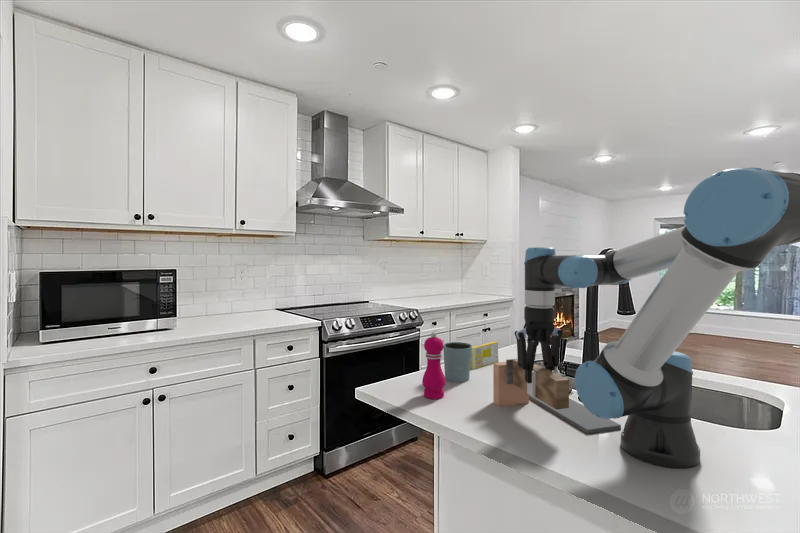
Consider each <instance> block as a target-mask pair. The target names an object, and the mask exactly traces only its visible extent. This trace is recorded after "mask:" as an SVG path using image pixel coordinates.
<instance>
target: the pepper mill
mask: <svg viewBox="0 0 800 533" xmlns="http://www.w3.org/2000/svg"><path fill="white" fill-rule="evenodd" d="M443 345H444V341H443V340H442V339H441V338H440V337H437V333H436V332H435V331H433V332H431V333H430V337H428V338H426V339H425V341H424V344H423V348H424V350H425V351H426V352H425V358H426V369H425V370H424V373H423V376H422V383H421V384H422V387H423V388H424V389H423V396H424V398H426V399H430V400H439V399H443V398H444V396H445V389H444V387H445V386H446V383H447V382H446V379H445V373H444V372H443V369H442V366H441V358H443V357H442V355H443V353H442V352H443V351H444V350H443Z"/></svg>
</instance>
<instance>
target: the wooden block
mask: <svg viewBox="0 0 800 533" xmlns="http://www.w3.org/2000/svg"><path fill="white" fill-rule="evenodd" d="M505 362H506V384H514V385H515V386H517V387H519V388H521V389H522V390H524V391H526V392H527V382H525V370H524V369H522V368H520V367H518V358H510V359H506V360H505ZM533 371H535V372H536V387H535V396H534V397H536V398H538V399H539V400H541V401H543V402H544V403H546V404H548V405H549V406H551V407H553V408H555V409H556V410H557V409H565V408H569V398H570V379H568V378H567V377H565V376H562V375H560V374H558V373H556V372H553V371H552V372H551V371H549V370H547V369H545V367H544V366H543V367H542V366H540V365H538V364H536V363H534V367H533Z"/></svg>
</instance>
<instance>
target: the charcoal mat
mask: <svg viewBox="0 0 800 533" xmlns="http://www.w3.org/2000/svg"><path fill="white" fill-rule="evenodd" d="M529 400H531V401H532V402H534V403H535V404H537V405H539V406H540V407H542V408H544V409H545V410H547V411H549V412H550V413H551V414H552V413H553V414H554V415H556V416H557V417H559V418H560V419H562V420H564V421H566V422H567V423H569V424H570V425H572V426H574V428H575V427H576V428H577V429H579V430H580V431H582V432H584V433H586V434H594V433H602V432H608V431H617V430H621V429H622V425H621V424H619V423H618V422H616V421H614V420H613V419H603V418H600V417H597V416H595V415H593V414H592V413H591V412H589V411H588V410H587V408H586V407H585V406H584V405H583V404H581V403H579V402H577V401H576V400H573V399H572V398H570V397H569V408H565V409H557V410H556V409H555V408H553V407H551V406H549V405H548V404H546V403H544V402H543V401H541V400H539V399H538V398H536V397H533V396H531V395H529Z"/></svg>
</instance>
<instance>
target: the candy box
mask: <svg viewBox="0 0 800 533" xmlns="http://www.w3.org/2000/svg"><path fill="white" fill-rule="evenodd" d="M498 343H499V342H498V341H491V342H488V343H483V344H480V345H479V344H478V345H475V346H472V352H471V363H470V370H476V369H479V368H481V367H482V366H483V367H485V366H489V365H492V364H493V363H498V362H500V361H499V344H498ZM475 368H476V369H475Z"/></svg>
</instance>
